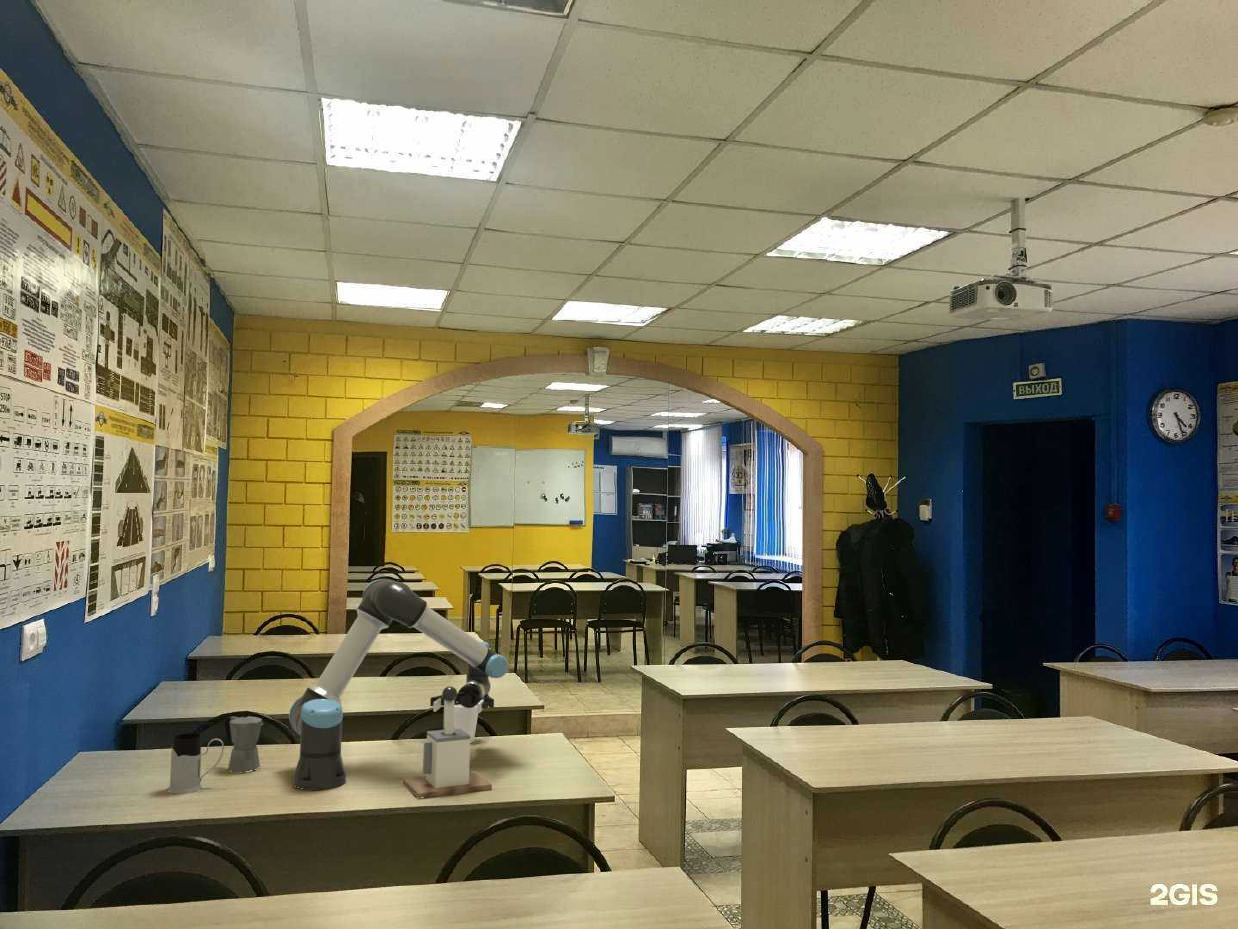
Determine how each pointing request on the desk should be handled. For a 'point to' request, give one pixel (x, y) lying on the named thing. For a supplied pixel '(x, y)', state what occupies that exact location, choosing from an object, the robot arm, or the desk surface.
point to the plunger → (449, 709)
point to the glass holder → (187, 763)
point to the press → (447, 758)
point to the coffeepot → (243, 742)
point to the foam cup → (466, 720)
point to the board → (425, 789)
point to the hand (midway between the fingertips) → (456, 707)
